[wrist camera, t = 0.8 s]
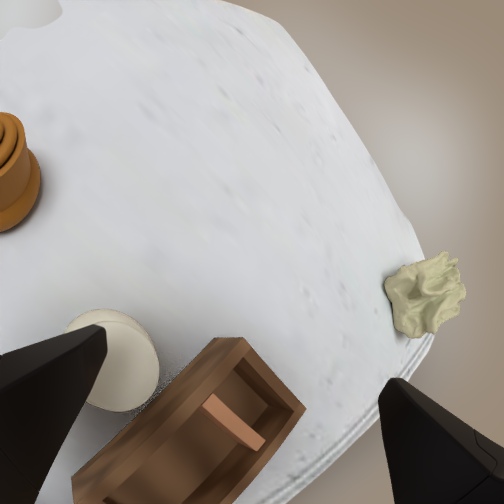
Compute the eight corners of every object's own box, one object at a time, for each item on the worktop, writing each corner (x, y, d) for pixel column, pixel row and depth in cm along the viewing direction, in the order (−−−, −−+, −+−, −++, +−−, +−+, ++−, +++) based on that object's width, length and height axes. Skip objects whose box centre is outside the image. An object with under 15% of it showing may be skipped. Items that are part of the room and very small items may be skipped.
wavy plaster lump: (361, 327, 46) (422, 355, 31) (360, 254, 45) (427, 260, 30) (427, 307, 50) (483, 322, 35) (427, 245, 49) (487, 247, 34)
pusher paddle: (236, 441, 20) (256, 451, 18) (185, 397, 19) (201, 405, 17) (244, 431, 21) (265, 440, 18) (195, 386, 20) (212, 393, 17)
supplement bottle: (55, 326, 16) (35, 322, 8) (118, 305, 19) (147, 287, 12) (83, 395, 15) (90, 442, 8) (144, 372, 19) (193, 397, 11)
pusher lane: (155, 529, 13) (174, 557, 10) (71, 477, 12) (73, 505, 9) (273, 401, 24) (306, 408, 21) (214, 337, 23) (243, 337, 19)
